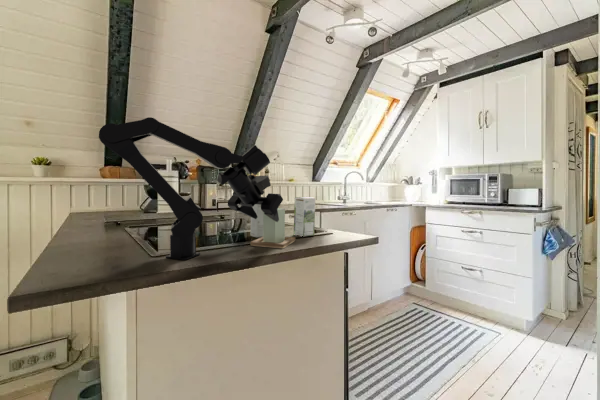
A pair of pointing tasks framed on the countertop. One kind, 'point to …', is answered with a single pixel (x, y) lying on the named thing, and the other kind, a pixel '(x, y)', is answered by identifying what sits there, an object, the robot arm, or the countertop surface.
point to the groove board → (274, 245)
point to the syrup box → (304, 216)
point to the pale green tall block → (274, 228)
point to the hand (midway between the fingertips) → (266, 219)
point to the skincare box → (257, 222)
